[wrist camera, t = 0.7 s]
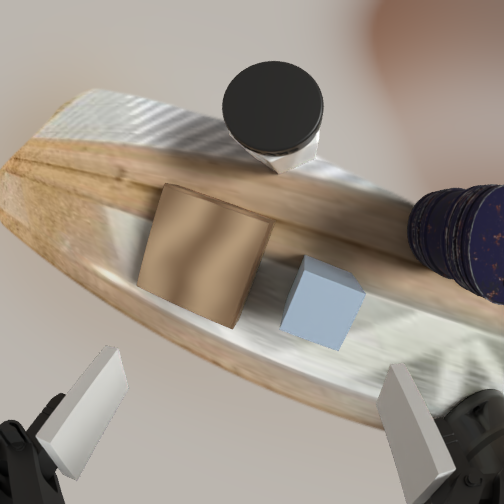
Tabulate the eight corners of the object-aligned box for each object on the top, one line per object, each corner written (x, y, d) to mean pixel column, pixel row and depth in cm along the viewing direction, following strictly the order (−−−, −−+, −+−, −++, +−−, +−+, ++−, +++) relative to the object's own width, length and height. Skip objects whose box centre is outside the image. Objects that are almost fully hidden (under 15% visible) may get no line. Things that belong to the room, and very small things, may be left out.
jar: (232, 144, 34) (197, 116, 23) (271, 92, 32) (255, 43, 21) (294, 187, 34) (288, 176, 22) (334, 132, 32) (347, 96, 20)
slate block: (351, 273, 34) (366, 294, 25) (331, 318, 35) (338, 351, 26) (304, 254, 35) (304, 270, 26) (286, 300, 36) (279, 329, 27)
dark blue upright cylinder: (407, 186, 31) (469, 174, 17) (472, 193, 30) (548, 190, 15) (403, 270, 33) (459, 309, 18) (468, 271, 31) (538, 304, 17)
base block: (275, 220, 35) (272, 221, 31) (238, 319, 37) (231, 331, 33) (176, 184, 36) (162, 182, 32) (149, 279, 39) (134, 286, 35)
